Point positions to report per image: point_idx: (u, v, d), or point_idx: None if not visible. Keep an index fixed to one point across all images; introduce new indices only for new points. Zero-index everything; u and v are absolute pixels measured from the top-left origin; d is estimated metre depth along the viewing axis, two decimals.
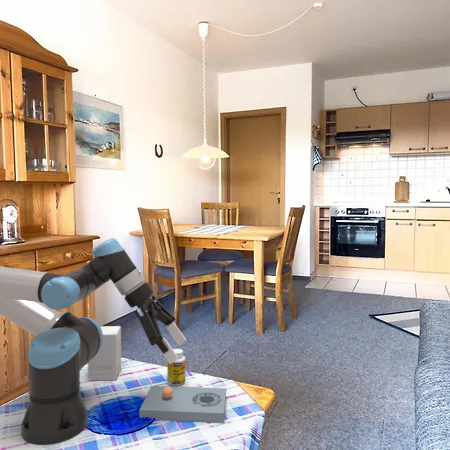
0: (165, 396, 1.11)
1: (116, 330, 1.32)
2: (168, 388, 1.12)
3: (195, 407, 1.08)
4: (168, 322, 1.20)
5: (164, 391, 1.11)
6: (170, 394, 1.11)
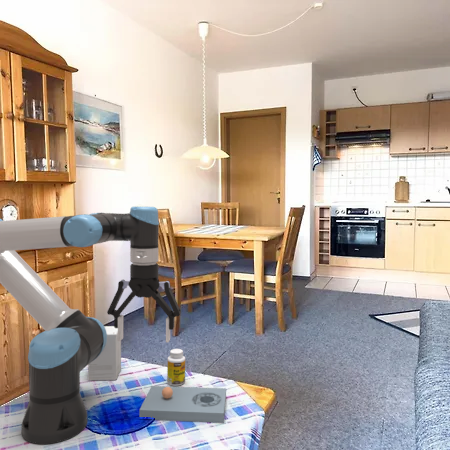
0: (165, 396, 1.11)
1: (116, 330, 1.32)
2: (168, 388, 1.12)
3: (195, 407, 1.08)
4: None
5: (164, 391, 1.11)
6: (170, 394, 1.11)
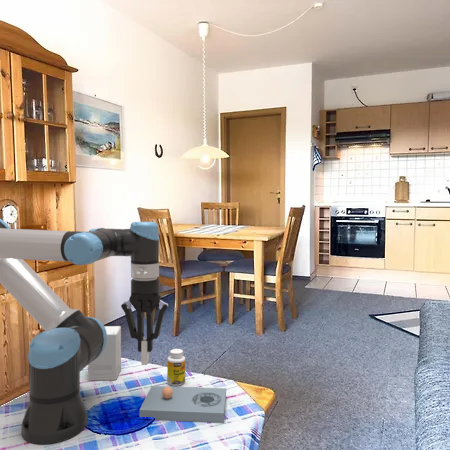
0: (165, 396, 1.11)
1: (116, 330, 1.32)
2: (168, 388, 1.12)
3: (195, 407, 1.08)
4: None
5: (164, 391, 1.11)
6: (170, 394, 1.11)
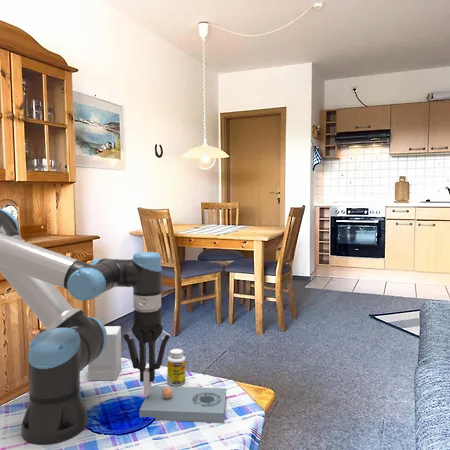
0: (165, 396, 1.11)
1: (116, 330, 1.32)
2: (168, 388, 1.12)
3: (195, 407, 1.08)
4: None
5: (164, 391, 1.11)
6: (170, 394, 1.11)
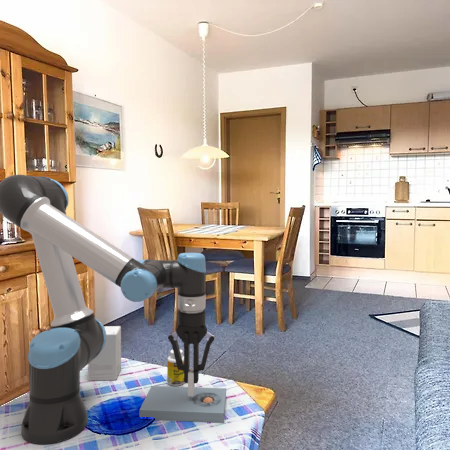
0: None
1: (116, 330, 1.32)
2: None
3: (195, 407, 1.08)
4: None
5: None
6: None
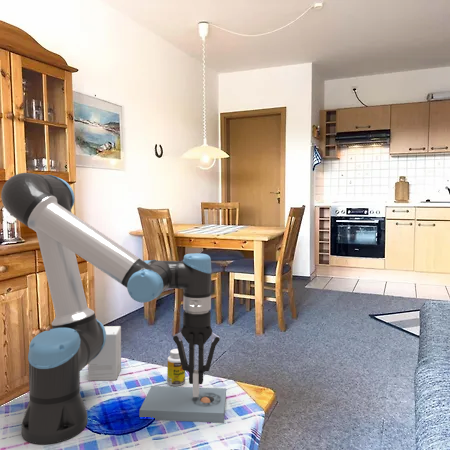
0: None
1: (116, 330, 1.32)
2: None
3: (195, 407, 1.08)
4: None
5: (207, 402, 1.11)
6: None
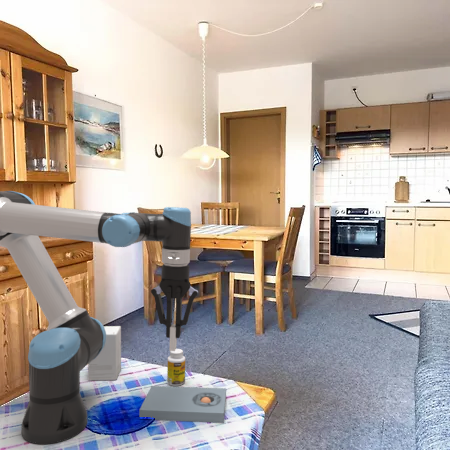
0: None
1: (116, 330, 1.32)
2: None
3: (195, 407, 1.08)
4: None
5: (208, 402, 1.11)
6: None
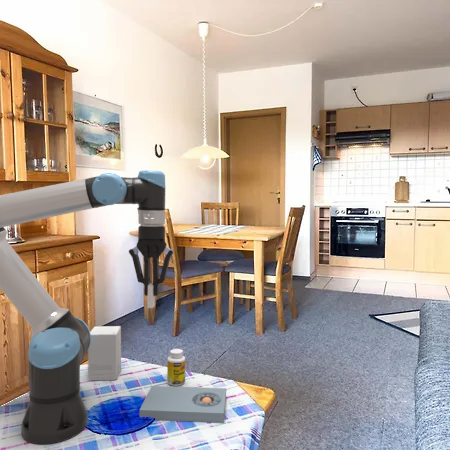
0: None
1: (116, 330, 1.32)
2: None
3: (195, 407, 1.08)
4: None
5: None
6: None
